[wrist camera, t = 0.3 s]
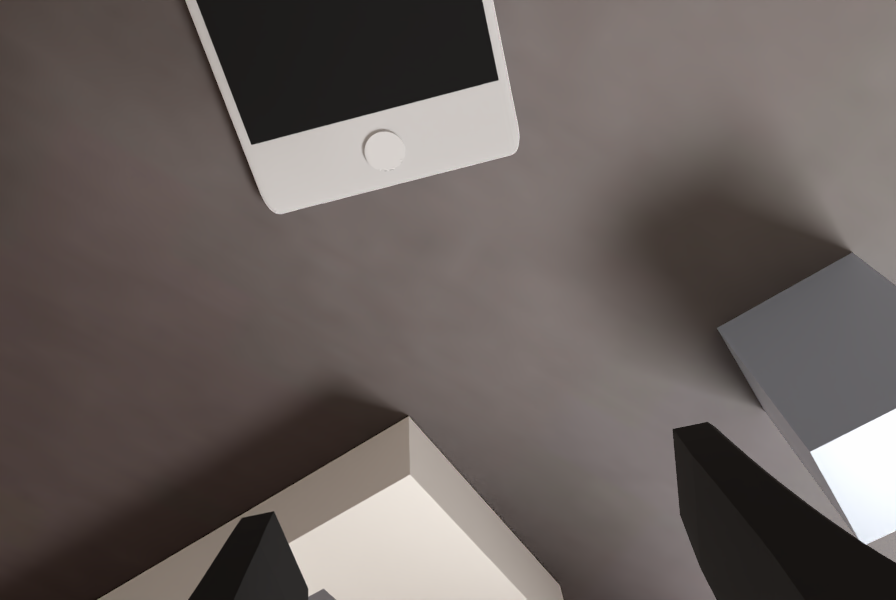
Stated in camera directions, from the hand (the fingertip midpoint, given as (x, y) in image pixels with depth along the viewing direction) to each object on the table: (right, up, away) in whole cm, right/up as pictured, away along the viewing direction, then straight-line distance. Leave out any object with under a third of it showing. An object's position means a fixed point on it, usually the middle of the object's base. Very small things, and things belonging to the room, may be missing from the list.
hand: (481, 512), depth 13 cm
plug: (+11, +3, +10) cm, 15 cm away
